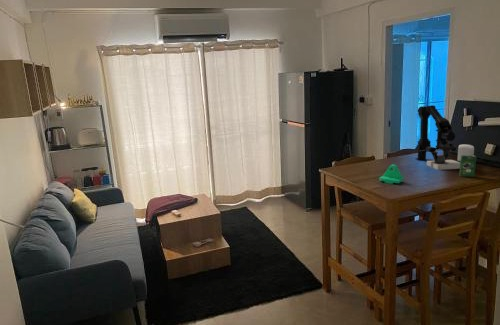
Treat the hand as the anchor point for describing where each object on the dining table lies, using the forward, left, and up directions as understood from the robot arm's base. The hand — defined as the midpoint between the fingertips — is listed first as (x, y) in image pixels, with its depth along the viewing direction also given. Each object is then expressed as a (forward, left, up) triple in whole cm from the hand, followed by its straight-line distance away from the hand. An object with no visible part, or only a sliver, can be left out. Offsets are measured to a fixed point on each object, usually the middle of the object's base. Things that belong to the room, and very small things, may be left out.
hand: (440, 161), depth 254 cm
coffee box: (+26, +3, -4) cm, 26 cm away
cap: (0, 0, -1) cm, 1 cm away
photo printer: (-12, +26, -4) cm, 29 cm away
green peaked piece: (+29, -47, -4) cm, 55 cm away
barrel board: (0, +4, -4) cm, 5 cm away
